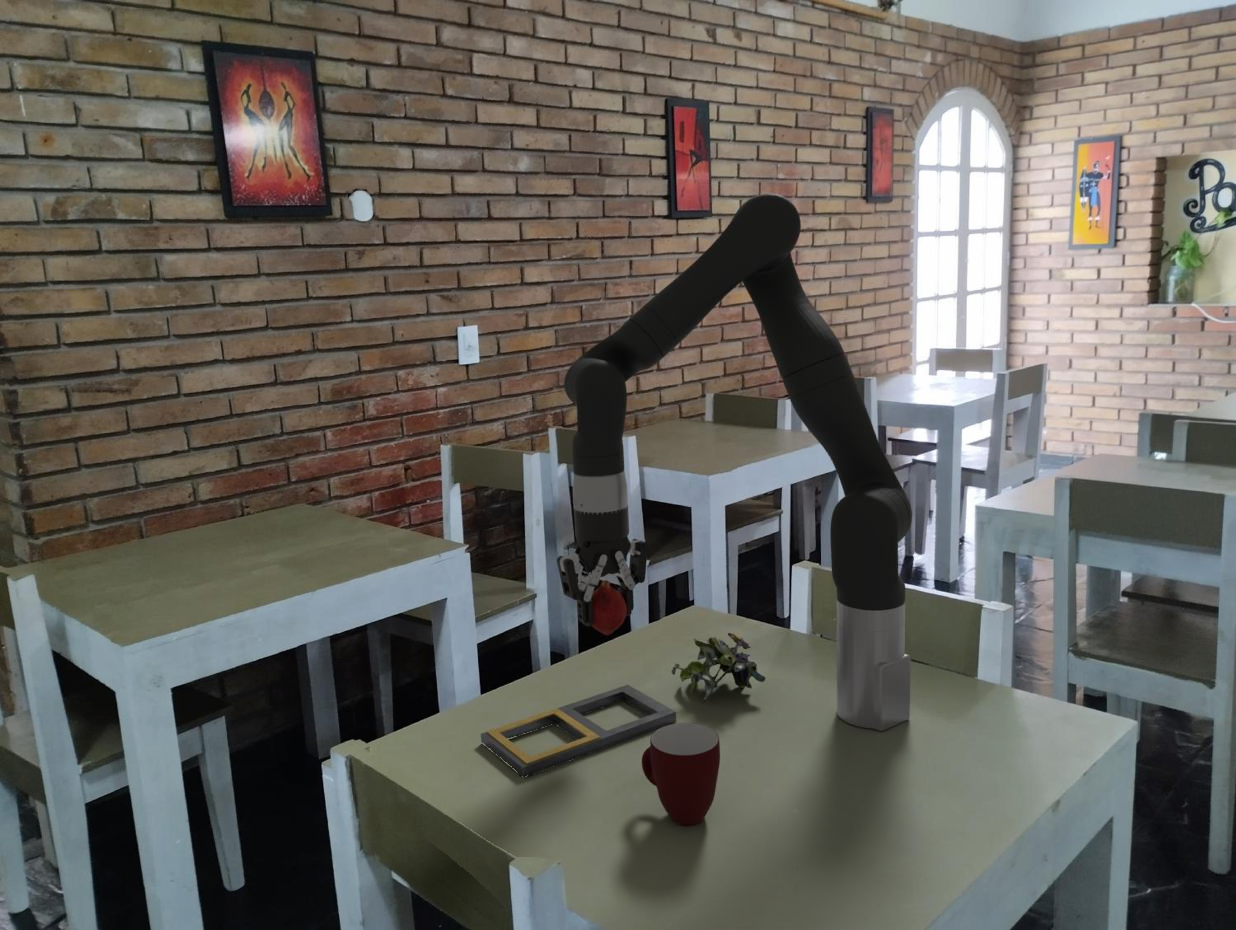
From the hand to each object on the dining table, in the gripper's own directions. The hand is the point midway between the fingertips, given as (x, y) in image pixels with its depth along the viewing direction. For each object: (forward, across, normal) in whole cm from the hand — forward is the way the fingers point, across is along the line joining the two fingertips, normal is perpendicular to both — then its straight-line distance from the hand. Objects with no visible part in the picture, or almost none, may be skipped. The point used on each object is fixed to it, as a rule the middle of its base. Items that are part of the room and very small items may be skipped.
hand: (606, 618), depth 136 cm
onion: (+3, 0, 0) cm, 3 cm away
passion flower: (+16, +18, -3) cm, 24 cm away
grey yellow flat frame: (+16, -6, 0) cm, 16 cm away
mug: (+16, -7, -25) cm, 31 cm away
